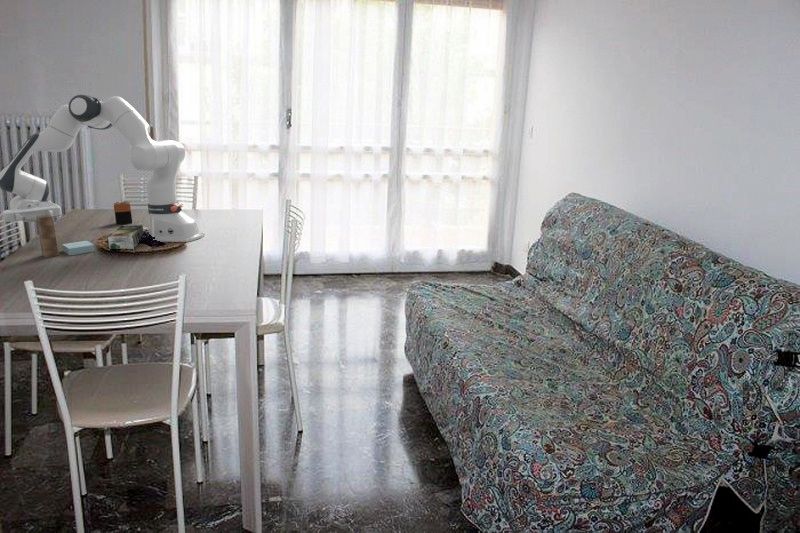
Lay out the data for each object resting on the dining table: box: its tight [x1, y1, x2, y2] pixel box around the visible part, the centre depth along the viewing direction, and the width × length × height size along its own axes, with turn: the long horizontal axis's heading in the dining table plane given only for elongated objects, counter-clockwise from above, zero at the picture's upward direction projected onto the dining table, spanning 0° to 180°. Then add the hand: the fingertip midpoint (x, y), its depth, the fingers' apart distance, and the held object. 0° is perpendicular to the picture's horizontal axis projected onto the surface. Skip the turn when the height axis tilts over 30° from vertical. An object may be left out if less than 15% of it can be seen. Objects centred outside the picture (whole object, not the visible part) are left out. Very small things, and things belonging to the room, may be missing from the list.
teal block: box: [61, 240, 95, 256], centre depth 263 cm, size 9×9×3 cm
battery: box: [113, 200, 133, 225], centre depth 309 cm, size 4×7×10 cm, turn 114°
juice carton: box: [107, 224, 145, 250], centre depth 272 cm, size 20×10×6 cm, turn 8°
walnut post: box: [36, 215, 59, 258], centre depth 256 cm, size 4×4×15 cm
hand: (36, 216), depth 263 cm, fingers open, 8 cm apart
